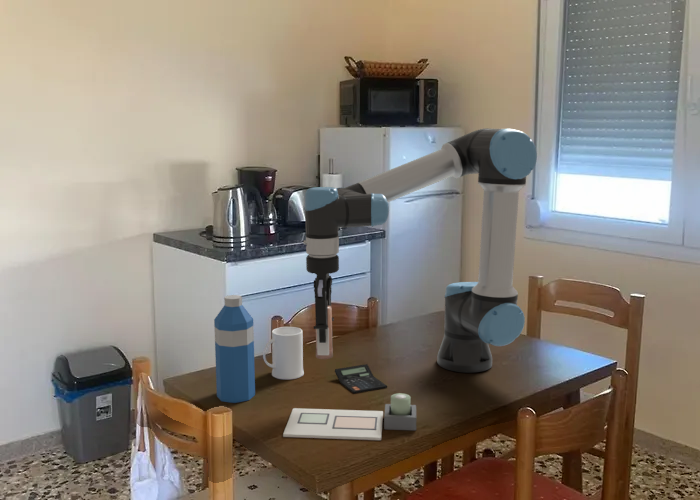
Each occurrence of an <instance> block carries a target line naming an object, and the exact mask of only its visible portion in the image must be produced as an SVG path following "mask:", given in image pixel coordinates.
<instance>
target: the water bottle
mask: <svg viewBox="0 0 700 500" xmlns="http://www.w3.org/2000/svg"><path fill="white" fill-rule="evenodd" d="M223 299H224V305H223V306H222V308H221V310H220V311H219V312H218V314H217V315H216V317H215V318H214V319H213V320H214V325H213V326H214V350H215V351H214V352H215V353H214V355H215V377H216V378H215V380H216V381H215V382H216V397H217V398H218V399H219V400H220V402H225V403H231V404H236V403H241V402H242V403H243V402H247V401H250V400H251V399H252V398H254V396H255V395H256V383H255V382H256V381H255V380H256V377H255V376H256V375H255V373H256V372H255V340H254V339H255V336H254V334H255V333H254V331H255V329H254V318H253V316H251V315H252V314H250V313H249V311H248V310H247V309H246V308H245V306H244V305H243V296H242V295H239V294H233V295H232V294H231V295H226V296H224V298H223Z"/></svg>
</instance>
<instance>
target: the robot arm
mask: <svg viewBox="0 0 700 500" xmlns="http://www.w3.org/2000/svg"><path fill="white" fill-rule="evenodd" d="M537 152H538V151H537V147H536V145H535V143H534V141H533V139H531V137H530V136H529V135H528V133H525V132H524V131H521V130H518V129H513V128H480V129H477V130H474V131H471V132H469V133H466V134H464V135H462V136H459V137H457V138H455V139H453V140H451V141H448V142H446V143H443V144H442V146H441V149H438V150H436V151H433V152H431V153H428V154H426V155H423V156H421V157H419V158H416V159H413V160H411V161H409V162H407V163H403V164H401V165H398V166H396V167H394V168H391V169H389V170H386V171H384V172H381V173H379V174H376V175H374V176H371V177H369V178H367V179H363V180H361V181H359V182H357V183H354V184H351V185H349V186H346V187H333V186H332V187H331V186H318V187H315V186H313V187H309V188H308V189H306V191H305V195H304V216H305V217H304V219H305V240H303V245H306V246H305V250H306V251H305V252H306V254H307V256H306V257H305V261H306V262H305V265H306V267H305V268H306V272H308V273H309V274H314V275H316V276H315V278H314V280H313V288H314V289H313V292H314V305H315V306H314V307H315V309H314V311H315V312H314V313H315V314H314V315H315V324H314V326H313V329H314V330H316V329H317V355H329V328H328V306H331V307H332V292H333V291H332V286H333V277H332V275H330V274H334V273H335V274H336V273H337V272H338V271H339V269H340V264H339V263H340V257H339V255H338V253H340V249H339V248H340V245H339V243H340V241H339V239H340V238H339V229H345V228H359V227H360V228H362V227H371V228H372V227H375V226H382V225H384V224H386V223H387V221H388V218H389V213H390V212H389V211H390V209H389V203H390V202H392V201H395V200H397V199H400V198H403V197H405V196H407V195H409V194H411V193H412V194H413V193H415V192H417V191H420V190H423V189H425V188H427V187H429V186H431V185H434V184H437V183H439V182H441V181H444V180H447V179H448V178H451V177H453V178H455V179H459V178H461V177H464V176H468V175H474V174H478V178H477V182H478V183H477V184H478V185H479V186H480V187H481V189H482V190H483V197H482V199H483V200H482V213H481V214H482V215H481V232H480V245H479V246H480V249H479V262H478V263H479V265H478V279H477V281H460V282H459V281H458V282H453V283H450V284H447V286H446V287H445V293H444V332H443V333H444V334H443V338H442V342H441V344H440V347H439V350H438V352H437V355H436V356H437V357H436V360H437V362H436V363H437V365H438V366H439V367H440V368H443V369H445V370H447V371H451V372H458V373H465V374H466V373H472V374H473V373H479V372H486V371H488V370H490V369H491V368H492V367H493V356H492V352H491V348H490V345H492V346H495V347H504V346H507V345H510V344H512V343H513V342H515V340H516V339H517V338H519V336H520V335H521V334H522V332H523V330H524V327H525V324H526V323H525V322H526V321H525V314H524V312H523V310H522V308H520V306H519V305H518V297H519V293H518V292H519V291H518V290H516V288H515V287H514V286H513V283H514V282H513V279H514V266H515V250H516V237H517V223H518V221H517V220H518V210H519V209H518V208H519V194H520V191H521V190H522V189H523V188H525V186H526V184H527V176H529V175H530V174H531V172H532V171H533V170H534V169H535V166H536V163H537V157H538V153H537ZM334 320H335V319H334V317H332V322H334Z"/></svg>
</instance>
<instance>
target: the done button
mask: <svg viewBox="0 0 700 500" xmlns="http://www.w3.org/2000/svg"><path fill="white" fill-rule="evenodd" d="M411 398H412V397H411V395H409V394H407V393H400V392H398V393H394V394H392V395H390V404H391V415H410V405H412V404H411V402H412V401H411Z"/></svg>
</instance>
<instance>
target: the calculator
mask: <svg viewBox="0 0 700 500" xmlns="http://www.w3.org/2000/svg"><path fill="white" fill-rule="evenodd" d="M334 369H335V368H334ZM334 373H335V376H336V377H337V379H338V381H339V384H341V385H342V386H343V387H345V388H346V390H348V391H349V392H351V393H352V394H360V393H366V392H371V391H377V390H384V389H387V388H388V386H387V385H386V384H385V383H383V382H382V381H381V380H380V379H378V378H377V377H375V375H374V374H373V373H372V371H371V369H370V367H369V365H368V363H364V364H359V365H353V366H348V367H347V366H345V367H341V368H336V369H335V370H334Z"/></svg>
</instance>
